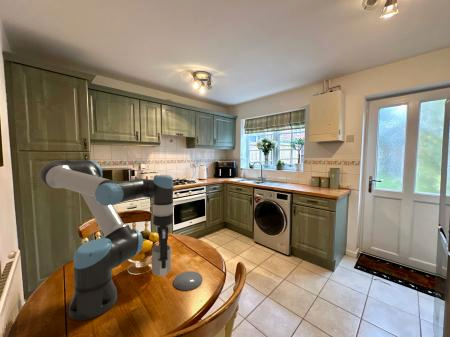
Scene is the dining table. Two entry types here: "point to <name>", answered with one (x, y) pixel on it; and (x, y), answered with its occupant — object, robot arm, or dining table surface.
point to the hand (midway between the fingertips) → (162, 267)
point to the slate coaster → (187, 280)
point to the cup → (157, 256)
